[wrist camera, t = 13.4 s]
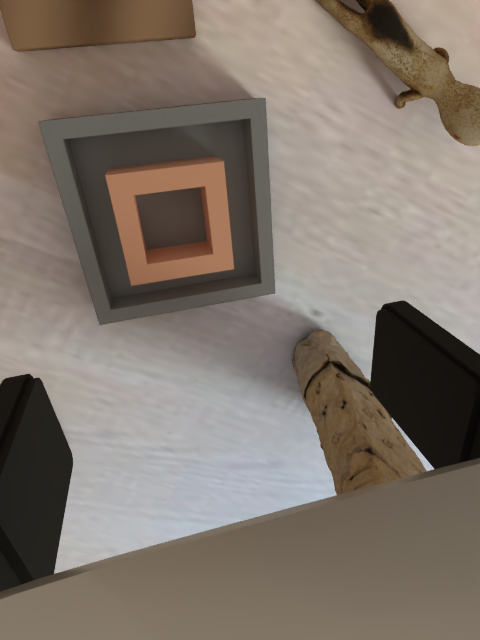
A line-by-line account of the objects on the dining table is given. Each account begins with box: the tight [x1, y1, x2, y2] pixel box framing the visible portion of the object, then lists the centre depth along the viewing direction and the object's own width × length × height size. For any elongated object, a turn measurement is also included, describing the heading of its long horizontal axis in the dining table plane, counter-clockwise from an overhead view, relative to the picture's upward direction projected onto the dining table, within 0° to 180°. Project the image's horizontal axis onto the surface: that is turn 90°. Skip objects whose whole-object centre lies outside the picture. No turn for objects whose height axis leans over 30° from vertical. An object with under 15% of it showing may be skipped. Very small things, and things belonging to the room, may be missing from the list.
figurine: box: [316, 0, 480, 146], centre depth 26 cm, size 4×4×15 cm
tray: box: [38, 98, 275, 325], centre depth 27 cm, size 13×13×3 cm
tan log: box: [292, 330, 427, 495], centre depth 25 cm, size 14×10×30 cm
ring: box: [105, 156, 234, 286], centre depth 27 cm, size 7×7×3 cm
